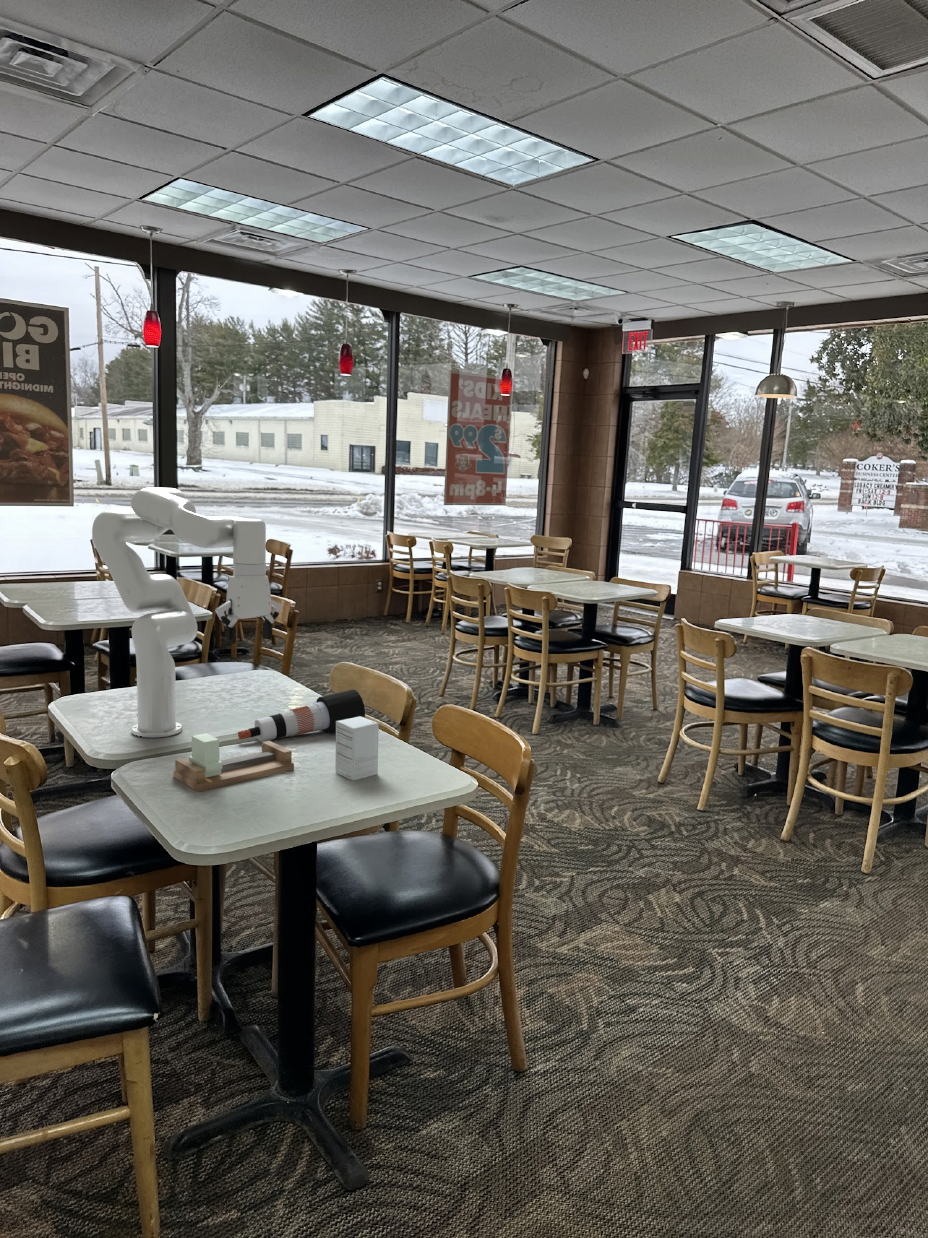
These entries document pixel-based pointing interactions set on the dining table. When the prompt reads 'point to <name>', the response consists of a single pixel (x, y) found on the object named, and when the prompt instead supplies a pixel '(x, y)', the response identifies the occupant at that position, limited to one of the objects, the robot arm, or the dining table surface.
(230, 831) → the dining table surface
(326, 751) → the dining table surface
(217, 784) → the rail board
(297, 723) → the white black stepped cylinder
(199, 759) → the block
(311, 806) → the dining table surface
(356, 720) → the supplement box
